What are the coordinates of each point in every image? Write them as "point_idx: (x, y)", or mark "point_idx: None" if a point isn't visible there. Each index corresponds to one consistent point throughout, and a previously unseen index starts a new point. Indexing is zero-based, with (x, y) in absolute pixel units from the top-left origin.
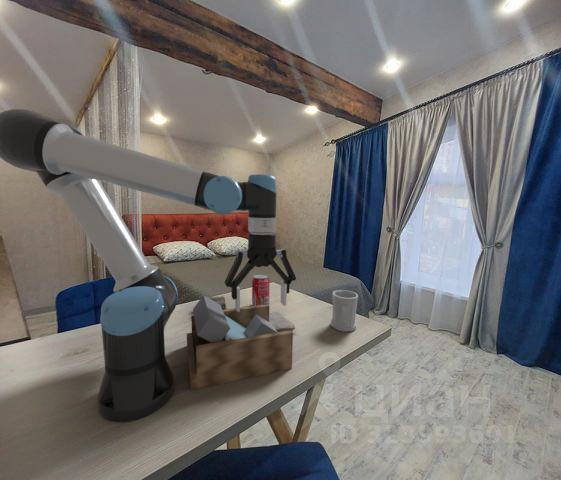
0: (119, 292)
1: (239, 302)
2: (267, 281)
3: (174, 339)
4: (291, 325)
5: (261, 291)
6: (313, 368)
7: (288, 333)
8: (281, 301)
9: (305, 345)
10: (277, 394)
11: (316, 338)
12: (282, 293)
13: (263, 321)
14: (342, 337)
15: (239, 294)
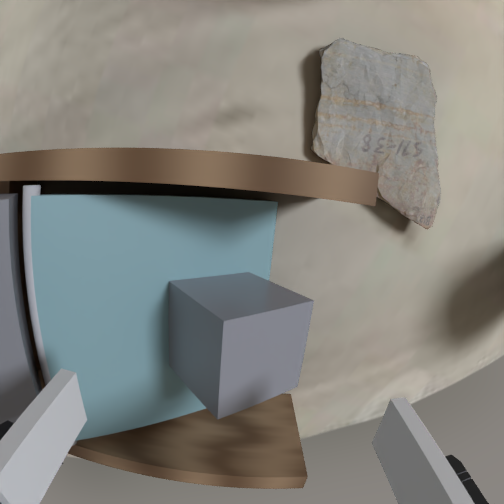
0: None
1: (62, 457)
2: None
3: (10, 110)
4: (427, 207)
5: None
6: (337, 418)
7: (286, 487)
8: (390, 420)
9: (396, 322)
10: None
11: (448, 295)
12: (407, 474)
13: (247, 371)
14: (495, 315)
15: (41, 494)
